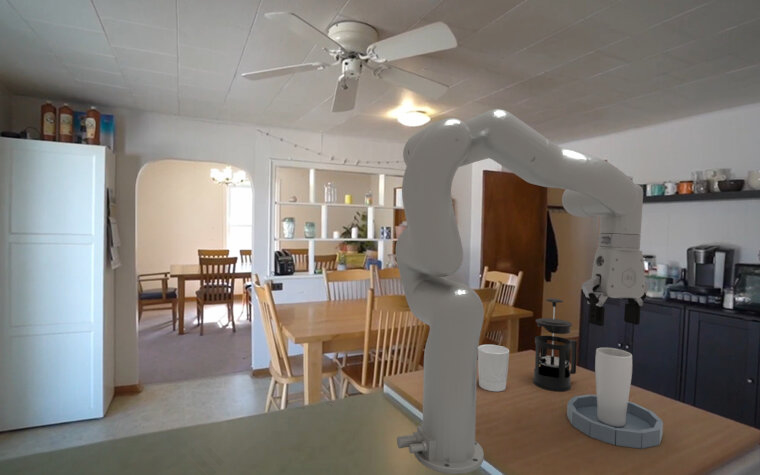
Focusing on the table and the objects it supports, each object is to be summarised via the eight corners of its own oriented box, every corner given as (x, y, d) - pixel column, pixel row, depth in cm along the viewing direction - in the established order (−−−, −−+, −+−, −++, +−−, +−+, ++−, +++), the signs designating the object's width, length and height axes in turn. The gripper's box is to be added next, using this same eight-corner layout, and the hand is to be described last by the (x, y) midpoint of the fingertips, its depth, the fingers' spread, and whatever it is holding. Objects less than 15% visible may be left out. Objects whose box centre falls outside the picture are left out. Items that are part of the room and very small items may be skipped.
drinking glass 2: (635, 431, 81) (638, 358, 80) (599, 427, 82) (602, 355, 82) (622, 416, 88) (624, 348, 87) (588, 412, 89) (591, 346, 88)
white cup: (470, 383, 107) (471, 346, 106) (493, 379, 110) (494, 343, 110) (490, 394, 99) (491, 355, 99) (514, 390, 103) (515, 351, 103)
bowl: (616, 453, 74) (617, 437, 74) (551, 412, 90) (551, 399, 90) (682, 440, 79) (682, 425, 79) (609, 403, 96) (609, 391, 96)
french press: (542, 392, 102) (545, 302, 101) (524, 378, 111) (526, 296, 110) (584, 390, 103) (587, 302, 103) (563, 377, 113) (565, 295, 112)
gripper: (601, 242, 78) (596, 329, 78) (666, 245, 83) (661, 327, 83) (572, 240, 85) (567, 320, 85) (633, 243, 90) (629, 318, 90)
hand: (614, 323), depth 84 cm, fingers open, 9 cm apart
